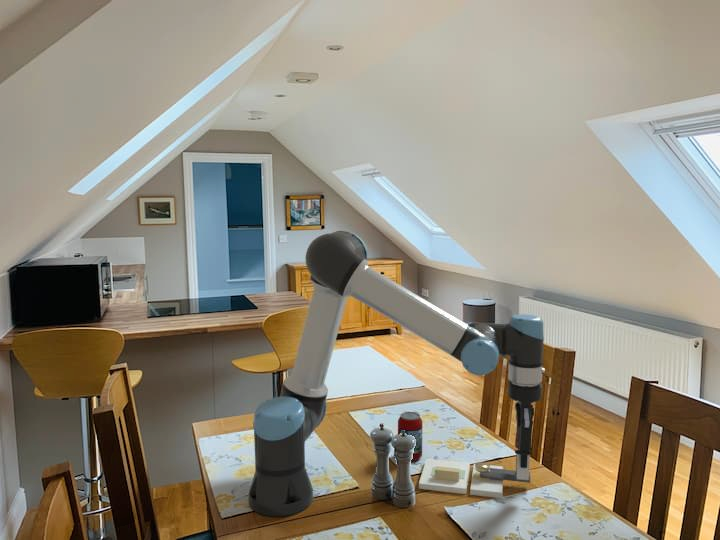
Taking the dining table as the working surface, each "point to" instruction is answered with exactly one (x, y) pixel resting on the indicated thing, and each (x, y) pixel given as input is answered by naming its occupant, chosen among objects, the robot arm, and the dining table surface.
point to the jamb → (486, 485)
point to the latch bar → (498, 472)
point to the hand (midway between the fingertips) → (522, 478)
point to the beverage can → (412, 430)
